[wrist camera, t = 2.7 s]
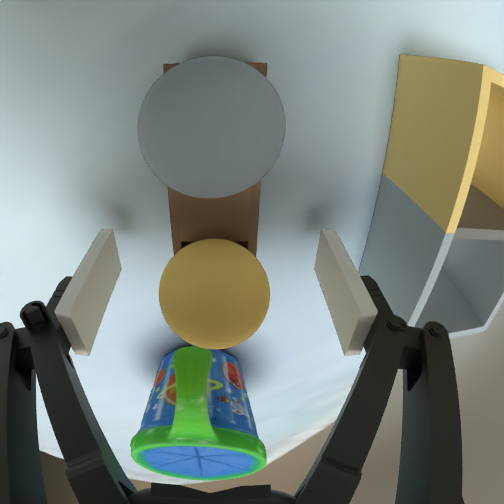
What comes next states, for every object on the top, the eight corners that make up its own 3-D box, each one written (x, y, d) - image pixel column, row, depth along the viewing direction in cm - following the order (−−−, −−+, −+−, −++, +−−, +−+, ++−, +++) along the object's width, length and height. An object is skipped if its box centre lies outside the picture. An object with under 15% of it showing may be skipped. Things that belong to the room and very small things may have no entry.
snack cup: (243, 407, 33) (248, 488, 25) (151, 399, 32) (142, 481, 23) (274, 314, 25) (293, 430, 17) (140, 300, 23) (112, 417, 15)
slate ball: (154, 60, 11) (113, 61, 7) (277, 59, 11) (306, 57, 7) (158, 171, 13) (127, 226, 9) (270, 171, 14) (290, 225, 10)
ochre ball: (162, 219, 15) (139, 286, 11) (267, 218, 15) (282, 286, 11) (172, 297, 18) (161, 369, 13) (261, 297, 18) (270, 370, 14)
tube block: (399, 54, 14) (483, 64, 8) (490, 87, 15) (568, 116, 9) (358, 272, 23) (395, 347, 17) (440, 269, 24) (485, 331, 18)
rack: (181, 64, 14) (163, 64, 10) (256, 63, 15) (267, 63, 11) (188, 251, 21) (180, 302, 17) (247, 251, 21) (253, 302, 17)
